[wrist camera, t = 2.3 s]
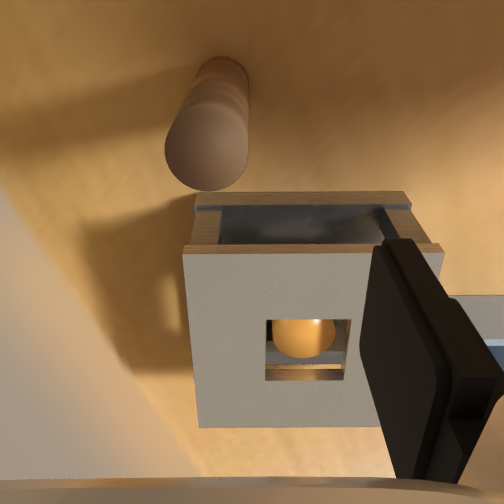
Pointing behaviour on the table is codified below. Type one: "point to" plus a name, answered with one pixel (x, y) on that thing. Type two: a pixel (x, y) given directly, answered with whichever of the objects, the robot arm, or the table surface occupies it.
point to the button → (303, 336)
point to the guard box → (286, 301)
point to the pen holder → (487, 320)
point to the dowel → (211, 128)
